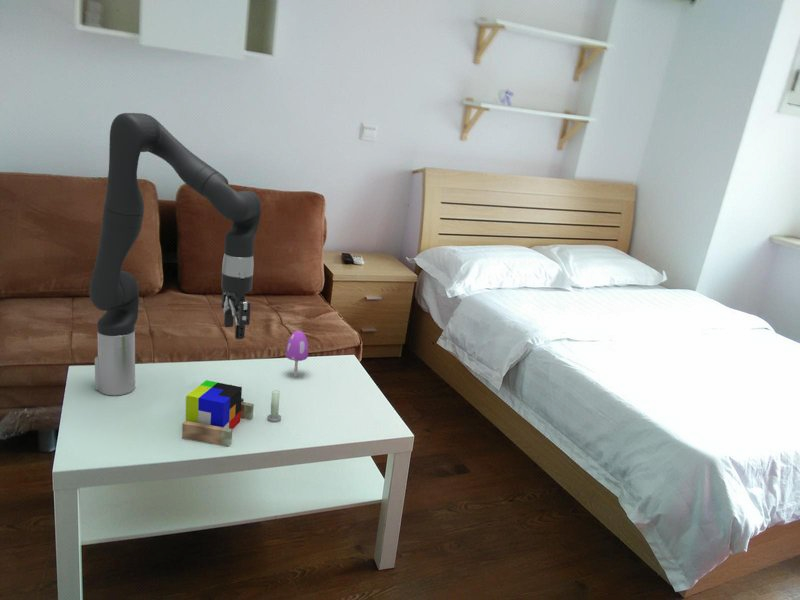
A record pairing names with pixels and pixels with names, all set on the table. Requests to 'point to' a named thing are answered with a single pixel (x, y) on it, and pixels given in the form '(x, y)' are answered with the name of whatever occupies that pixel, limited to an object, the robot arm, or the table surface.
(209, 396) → the puzzle toy
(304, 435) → the table surface
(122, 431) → the table surface
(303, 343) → the toy
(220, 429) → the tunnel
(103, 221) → the robot arm
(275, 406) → the goal post
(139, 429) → the table surface
